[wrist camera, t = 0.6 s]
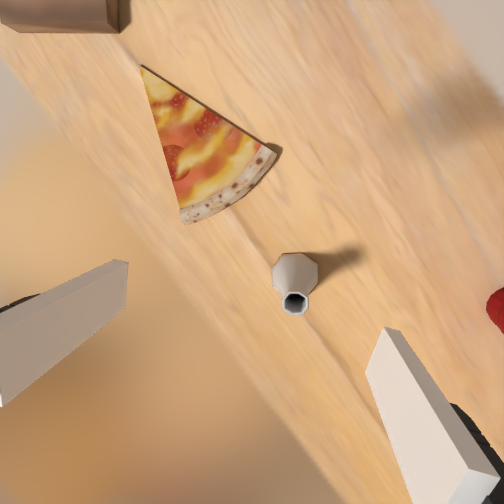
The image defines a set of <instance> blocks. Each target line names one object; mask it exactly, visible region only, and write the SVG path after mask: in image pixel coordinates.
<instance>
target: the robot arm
mask: <svg viewBox="0 0 504 504" xmlns="http://www.w3.org/2000/svg"><path fill="white" fill-rule="evenodd" d="M127 276H128V262H125V261H121V260H117V259H114V260H112V261H110V262H108V263H105V264H103V265H101V266H99V267H97V268H95V269H93V270H91V271H88V272H86V273H84V274H82V275H80V276H78V277H76V278H74V279H72V280H69V281H68V282H65V283H63V284H61V285H59V286H57V287H55V288H53V289H50V290H48V291H47V292H44V293H42V294H36V295H33V296H28V297H24V298H22V299H20V300H17V301H15V302H13V303H11V304H10V305H9V306H8V305H6V306H4V307H2V308H0V407H3V406H4V405H6V404H7V403H8V402H9V401H11V400H12V399H13V398H15V397H16V396H17V395H18V394H20V393H21V392H22V391H23V390H25V389H26V388H27V387H28V386H30V385H31V384H32V383H33V382H34V381H36V380H37V379H38V378H40V377H41V376H42V375H43V374H45V373H46V372H47V371H48V370H49V369H51V368H52V367H53V366H54V365H56V364H57V363H58V362H59V361H61V360H62V359H63V358H64V357H66V356H67V355H68V354H69V353H71V352H72V351H73V350H74V349H76V348H77V347H78V346H79V345H81V344H82V343H83V342H84V341H86V340H87V339H88V338H89V337H90V336H92V335H93V334H94V333H95V332H97V331H98V330H99V329H101V328H102V327H103V326H104V325H106V324H107V323H108V322H109V321H111V320H112V319H113V318H114V317H116V316H117V315H118V314H119V313H121V312H122V311H123V310H124V309H125V305H126V290H127ZM365 374H366V377H367V380H368V382H369V385H370V388H371V390H372V393H373V396H374V399H375V401H376V404H377V407H378V410H379V412H380V415H381V418H382V421H383V423H384V426H385V429H386V431H387V434H388V437H389V440H390V442H391V445H392V448H393V451H394V453H395V456H396V459H397V461H398V464H399V467H400V470H401V472H402V475H403V478H404V481H405V483H406V486H407V489H408V492H409V494H410V497H411V500H412V502H413V504H504V463H503V461H502V460H501V459H500V457H499V456H498V455H497V453H496V452H495V450H494V449H493V448H491V447H490V444H489V442H488V441H487V440H486V438H485V437H484V435H481V431H480V430H479V429H478V427H477V426H476V425H475V423H474V422H473V420H472V419H471V418H470V417H469V416H468V415H467V414H466V413H465V412H464V411H463V410H461V409H460V408H459V407H458V406H457V405H456V404H452V403H449V402H448V400H447V399H446V397H445V396H444V395H443V393H442V392H441V390H440V389H439V387H438V386H437V384H436V383H435V381H434V380H433V379H432V377H431V376H430V374H429V373H428V371H427V370H426V368H425V367H424V365H423V364H422V363H421V361H420V360H419V358H418V357H417V355H416V354H415V352H414V351H413V349H412V348H411V347H410V345H409V344H408V342H407V341H406V339H405V338H404V336H403V335H402V333H401V332H400V331H399V330H395V329H391V328H387V327H383V329H382V332H381V334H380V337H379V339H378V342H377V344H376V347H375V349H374V352H373V354H372V357H371V359H370V362H369V364H368V367H367V369H366V372H365Z"/></svg>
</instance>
